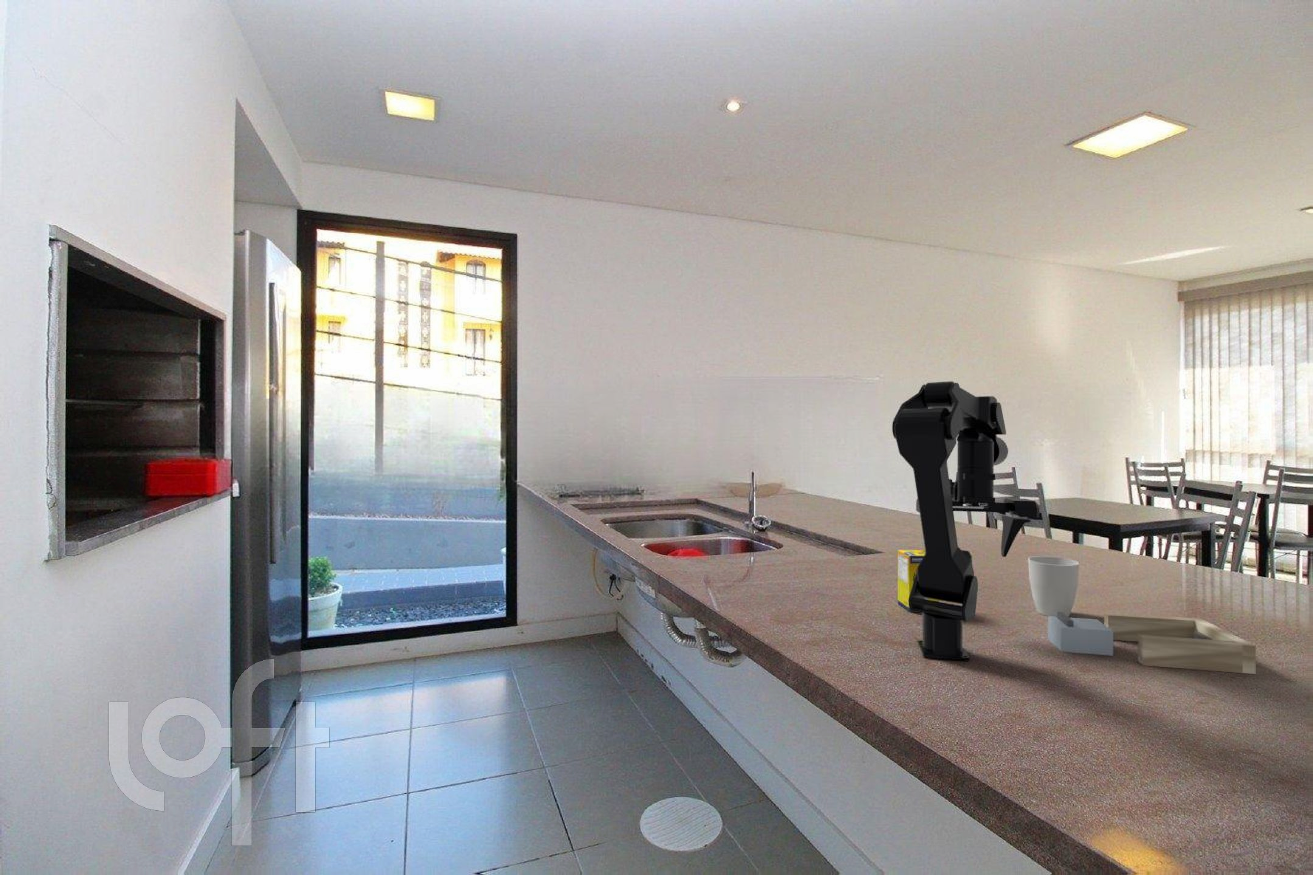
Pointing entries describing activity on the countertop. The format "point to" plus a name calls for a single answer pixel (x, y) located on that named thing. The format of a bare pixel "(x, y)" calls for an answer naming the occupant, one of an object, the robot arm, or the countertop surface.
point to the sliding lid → (1080, 635)
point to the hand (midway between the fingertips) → (975, 555)
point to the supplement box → (908, 574)
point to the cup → (1053, 584)
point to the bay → (1183, 643)
